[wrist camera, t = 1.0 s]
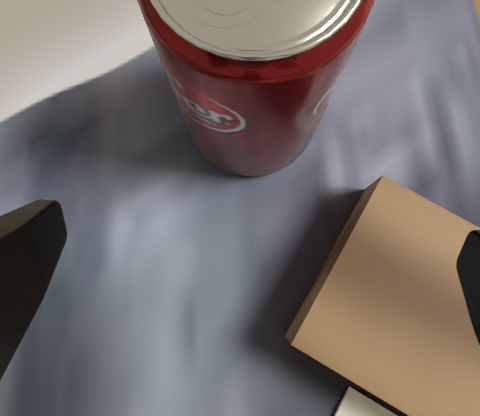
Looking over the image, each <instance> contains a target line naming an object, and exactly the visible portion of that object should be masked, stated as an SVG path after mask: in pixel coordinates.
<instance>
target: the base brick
mask: <svg viewBox="0 0 480 416" xmlns="http://www.w3.org/2000/svg"><path fill="white" fill-rule="evenodd" d="M472 230H480V228H479V227H477V226H475V225H473V224H472V223H470V222H468V221H466V220H464V219H462V218H460V217H459V216H457V215H455V214H453V213H451V212H449V211H448V210H446V209H444V208H442V207H440V206H438V205H436V204H435V203H433V202H431V201H429V200H427V199H425V198H424V197H422V196H420V195H418V194H416V193H414V192H412V191H411V190H409V189H407V188H405V187H403V186H401V185H400V184H398V183H396V182H394V181H392V180H390V179H388V178H387V177H385V176H381V177H380V178H379V179H377V180H376V181H375V182H374V183H372V184H371V185H370V186H368V187H367V188H366V189H365V190H364V192H363V194H362V195H361V197H360V199H359V201H358V203H357V205H356V206H355V208H354V210H353V212H352V214H351V216H350V217H349V219H348V221H347V223H346V225H345V227H344V228H343V230H342V232H341V234H340V236H339V238H338V239H337V241H336V243H335V245H334V247H333V249H332V250H331V252H330V254H329V256H328V258H327V260H326V261H325V263H324V265H323V267H322V269H321V271H320V272H319V274H318V276H317V278H316V280H315V282H314V283H313V285H312V287H311V289H310V291H309V293H308V294H307V296H306V298H305V300H304V302H303V304H302V305H301V307H300V309H299V311H298V313H297V315H296V316H295V318H294V320H293V322H292V324H291V326H290V327H289V329H288V331H287V333H286V335H285V337H286V338H287V340H288V341H289V342H290V344H291V345H292V346H294V347H296V348H297V349H299V350H301V351H302V352H304V353H306V354H307V355H309V356H311V357H312V358H314V359H316V360H317V361H319V362H321V363H322V364H324V365H325V366H327V367H329V368H330V369H332V370H334V371H335V372H337V373H339V374H340V375H342V376H344V377H345V378H347V379H349V380H350V381H352V382H354V383H355V384H357V385H359V386H360V387H362V388H364V389H365V390H367V391H369V392H370V393H372V394H374V395H375V396H377V397H379V398H380V399H382V400H384V401H385V402H387V403H389V404H390V405H392V406H394V407H395V408H397V409H399V410H400V411H402V412H403V413H405V414H407V415H408V416H480V345H479V343H478V340H477V337H476V335H475V332H474V329H473V326H472V323H471V320H470V316H469V313H468V309H467V305H466V302H465V298H464V295H463V291H462V287H461V284H460V280H459V277H458V273H457V269H456V262H457V258H458V256H459V253H460V251H461V249H462V246H463V244H464V242H465V239H466V237H467V235H468V233H469V232H470V231H472Z"/></svg>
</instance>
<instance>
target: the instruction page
mask: <svg viewBox="0 0 480 416" xmlns="http://www.w3.org/2000/svg"><path fill="white" fill-rule="evenodd" d="M334 416H398V415H396V414H395V413H393V412H391V411H390V410H388V409H386V408H385V407H383V406H381V405H380V404H378V403H376V402H375V401H373V400H371V399H370V398H368V397H366V396H365V395H363V394H361V393H360V392H358V391H356V390H355V389H353V388H351V387H350V386H349V387H348V389H347V391H346V393H345V395H344V397H343V399H342V401H341V403H340V405H339V407H338V409H337V411H336V412H335V414H334Z"/></svg>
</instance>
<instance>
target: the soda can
mask: <svg viewBox="0 0 480 416" xmlns="http://www.w3.org/2000/svg"><path fill="white" fill-rule="evenodd" d="M138 3H139V6H140V8H141V11H142V14H143V17H144V19H145V21H146V24H147V27H148V29H149V32H150V35H151V37H152V39H153V42H154V45H155V47H156V50H157V52H158V55H159V57H160V60H161V63H162V65H163V68H164V70H165V73H166V75H167V78H168V80H169V83H170V86H171V88H172V91H173V93H174V96H175V98H176V101H177V103H178V106H179V108H180V111H181V114H182V116H183V119H184V121H185V124H186V126H187V129H188V131H189V134H190V137H191V139H192V141H193V143H194V144H195V146H196V147H197V149H198V151H199V152H200V153H201V154H202V155H203V156H204V157H205V158H206V159H207V160H208V161H209V162H211V163H212V164H214V165H215V166H217V167H218V168H220V169H222V170H225V171H227V172H229V173H233V174H237V175H242V176H260V175H266V174H271V173H273V172H276V171H279V170H281V169H283V168H285V167H286V166H288V165H289V164H291V163H293V162H294V161H295V160H296V159H297V158H298V157H299V156H300V155H301V154H302V153H303V152H304V150H305V149H306V148H307V146H308V145H309V143H310V141H311V139H312V137H313V135H314V133H315V130H316V128H317V126H318V124H319V122H320V120H321V117H322V115H323V113H324V111H325V109H326V107H327V104H328V102H329V100H330V98H331V96H332V94H333V91H334V89H335V87H336V85H337V83H338V81H339V78H340V76H341V74H342V72H343V70H344V68H345V65H346V63H347V61H348V59H349V57H350V55H351V52H352V50H353V48H354V46H355V44H356V41H357V39H358V37H359V35H360V33H361V31H362V28H363V26H364V24H365V22H366V20H367V17H368V15H369V13H370V11H371V8H372V6H373V4H374V0H138Z"/></svg>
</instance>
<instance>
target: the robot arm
mask: <svg viewBox="0 0 480 416" xmlns="http://www.w3.org/2000/svg"><path fill="white" fill-rule="evenodd" d="M66 239H67V229H66V225H65V221H64V216H63V212H62V208H61V205H60V203H59V202H57V201H55V200H42V199H41V200H37V201H34V202H32V203H30V204H27V205H25V206H23V207H20V208H18V209H16V210H13V211H11V212H9V213H6V214H4V215H2V216H0V380H1V378H2V376H3V374H4V372H5V370H6V369H7V367H8V365H9V363H10V361H11V359H12V357H13V355H14V353H15V352H16V350H17V348H18V346H19V344H20V342H21V340H22V338H23V336H24V335H25V333H26V331H27V329H28V327H29V325H30V323H31V321H32V319H33V318H34V316H35V314H36V312H37V310H38V308H39V306H40V304H41V302H42V300H43V298H44V296H45V294H46V291H47V289H48V286H49V284H50V281H51V279H52V276H53V273H54V271H55V268H56V266H57V263H58V261H59V258H60V255H61V253H62V250H63V248H64V245H65V242H66ZM456 269H457V273H458V277H459V280H460V284H461V287H462V291H463V295H464V298H465V302H466V305H467V309H468V313H469V316H470V320H471V323H472V326H473V329H474V332H475V335H476V337H477V340H478V343H479V345H480V230H472V231H470V232H469V233H468V235H467V237H466V239H465V242H464V244H463V246H462V249H461V251H460V253H459V256H458V258H457V262H456Z"/></svg>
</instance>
